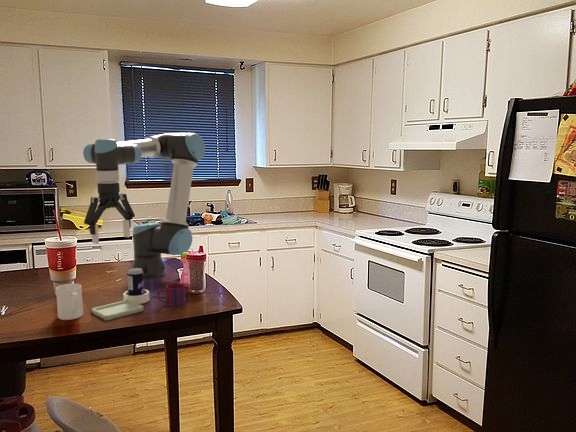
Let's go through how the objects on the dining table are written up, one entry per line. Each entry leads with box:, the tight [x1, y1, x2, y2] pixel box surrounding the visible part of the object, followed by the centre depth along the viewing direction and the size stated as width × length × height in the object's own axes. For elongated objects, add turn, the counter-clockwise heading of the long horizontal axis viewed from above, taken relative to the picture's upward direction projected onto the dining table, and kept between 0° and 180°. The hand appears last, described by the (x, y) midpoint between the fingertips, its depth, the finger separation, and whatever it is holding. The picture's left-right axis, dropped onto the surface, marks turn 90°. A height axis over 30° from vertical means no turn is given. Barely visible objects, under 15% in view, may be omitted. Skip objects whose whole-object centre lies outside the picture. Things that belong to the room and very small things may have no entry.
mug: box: [55, 283, 84, 321], centre depth 173 cm, size 12×8×10 cm, turn 39°
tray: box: [91, 300, 145, 321], centre depth 179 cm, size 14×11×2 cm
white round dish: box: [122, 288, 150, 305], centre depth 192 cm, size 9×9×3 cm
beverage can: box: [126, 267, 145, 296], centre depth 191 cm, size 6×6×12 cm
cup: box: [157, 282, 186, 307], centre depth 187 cm, size 7×10×7 cm
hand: (111, 240), depth 187 cm, fingers open, 13 cm apart
